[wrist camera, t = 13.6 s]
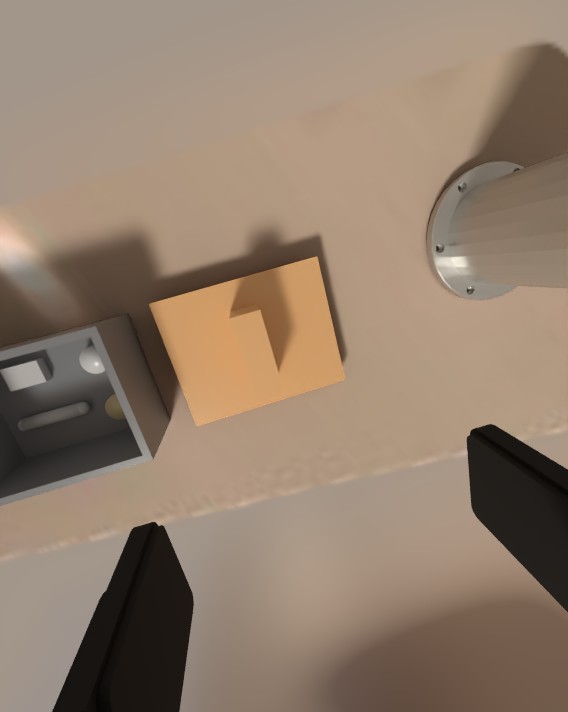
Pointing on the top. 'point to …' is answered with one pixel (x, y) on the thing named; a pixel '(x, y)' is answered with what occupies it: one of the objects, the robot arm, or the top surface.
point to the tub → (76, 408)
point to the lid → (251, 340)
